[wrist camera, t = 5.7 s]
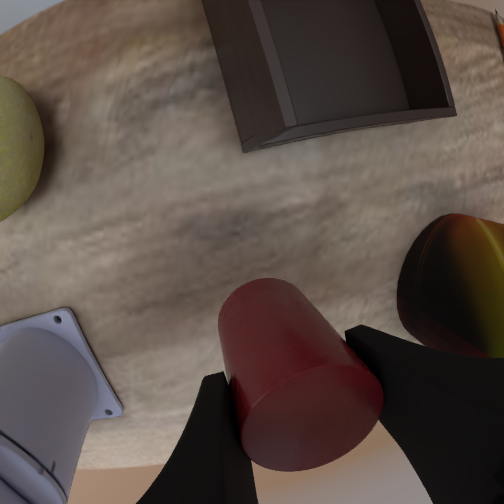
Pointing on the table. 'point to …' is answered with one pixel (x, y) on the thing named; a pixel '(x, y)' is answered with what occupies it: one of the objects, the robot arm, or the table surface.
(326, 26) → the carton
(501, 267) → the mug
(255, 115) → the flap
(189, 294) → the table surface
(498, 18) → the pencil
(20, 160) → the fruit
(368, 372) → the red cylinder
